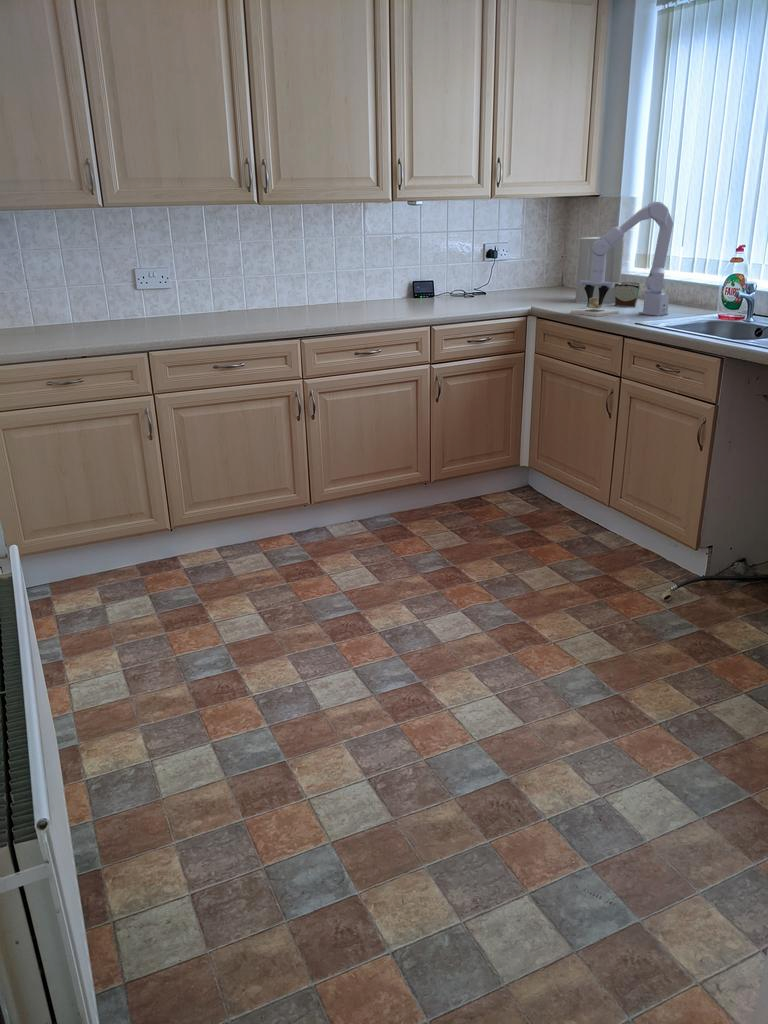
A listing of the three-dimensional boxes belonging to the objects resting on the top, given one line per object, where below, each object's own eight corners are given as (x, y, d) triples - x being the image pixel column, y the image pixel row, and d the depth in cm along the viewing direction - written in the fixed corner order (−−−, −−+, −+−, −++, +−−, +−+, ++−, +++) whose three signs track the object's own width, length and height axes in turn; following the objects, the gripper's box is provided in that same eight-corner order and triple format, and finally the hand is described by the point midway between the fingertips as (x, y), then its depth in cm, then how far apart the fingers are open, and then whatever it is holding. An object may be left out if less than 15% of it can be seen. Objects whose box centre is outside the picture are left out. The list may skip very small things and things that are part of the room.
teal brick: (599, 308, 366) (600, 299, 365) (594, 309, 364) (594, 299, 362) (592, 307, 369) (593, 298, 368) (586, 308, 367) (587, 299, 365)
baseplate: (618, 313, 351) (618, 310, 351) (597, 316, 343) (597, 313, 342) (591, 309, 361) (591, 307, 361) (570, 313, 353) (570, 310, 353)
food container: (643, 306, 372) (646, 282, 368) (637, 307, 367) (640, 284, 364) (617, 303, 379) (619, 281, 375) (611, 305, 375) (613, 282, 371)
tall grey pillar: (615, 299, 394) (621, 236, 383) (618, 303, 380) (624, 238, 370) (574, 298, 396) (578, 236, 386) (575, 302, 383) (580, 238, 373)
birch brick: (601, 307, 352) (602, 297, 350) (597, 308, 349) (598, 298, 347) (592, 306, 354) (593, 297, 353) (588, 307, 351) (589, 298, 350)
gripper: (618, 270, 345) (615, 304, 350) (586, 268, 353) (583, 301, 358) (611, 272, 339) (608, 306, 344) (578, 270, 348) (576, 303, 353)
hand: (595, 304), depth 351 cm, fingers closed on birch brick, 4 cm apart
